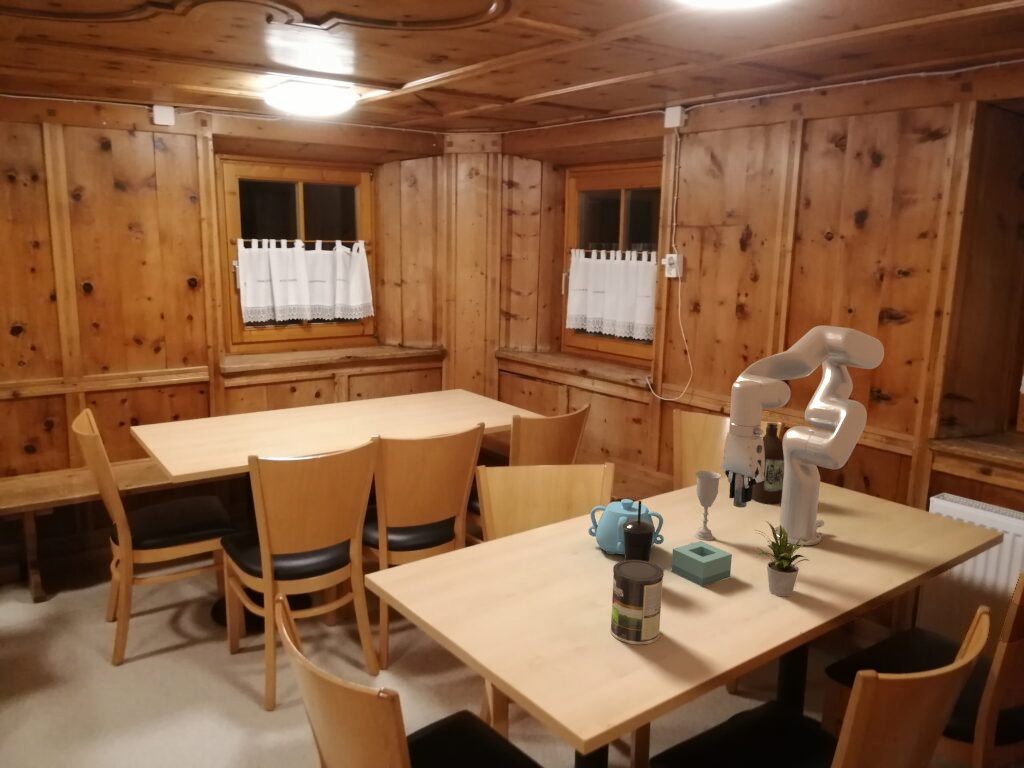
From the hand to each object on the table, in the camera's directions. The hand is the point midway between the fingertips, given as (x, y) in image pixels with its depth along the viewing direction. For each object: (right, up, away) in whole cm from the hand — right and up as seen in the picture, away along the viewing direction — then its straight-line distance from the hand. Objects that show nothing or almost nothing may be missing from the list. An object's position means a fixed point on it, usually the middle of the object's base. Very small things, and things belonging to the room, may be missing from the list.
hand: (740, 498), depth 201 cm
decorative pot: (-28, -15, +8) cm, 33 cm away
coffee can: (-33, -23, -37) cm, 54 cm away
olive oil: (+23, -8, +51) cm, 56 cm away
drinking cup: (-29, -18, -11) cm, 36 cm away
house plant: (+4, -20, -15) cm, 25 cm away
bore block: (-12, -18, -7) cm, 23 cm away
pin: (0, -2, 0) cm, 2 cm away
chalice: (-5, -13, +18) cm, 23 cm away
